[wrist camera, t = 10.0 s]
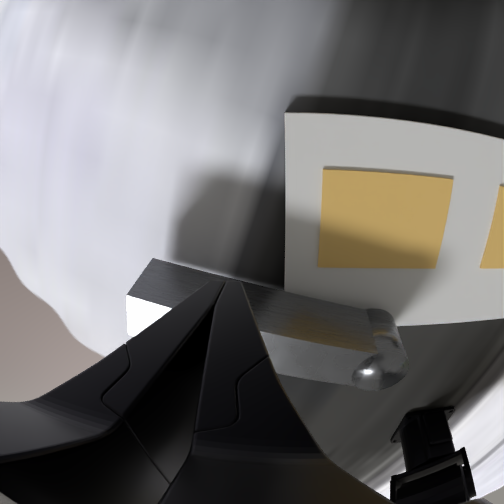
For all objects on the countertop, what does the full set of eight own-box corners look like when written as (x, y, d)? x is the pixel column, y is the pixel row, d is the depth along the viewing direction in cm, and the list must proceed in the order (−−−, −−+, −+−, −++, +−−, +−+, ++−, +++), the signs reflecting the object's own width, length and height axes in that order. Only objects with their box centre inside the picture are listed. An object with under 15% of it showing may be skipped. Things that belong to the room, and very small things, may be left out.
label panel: (529, 313, 20) (536, 323, 19) (283, 324, 23) (282, 338, 22) (575, 161, 13) (586, 167, 12) (284, 112, 16) (284, 113, 15)
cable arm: (403, 313, 19) (419, 356, 16) (380, 350, 21) (391, 393, 18) (153, 254, 19) (126, 290, 16) (150, 298, 21) (128, 337, 17)
